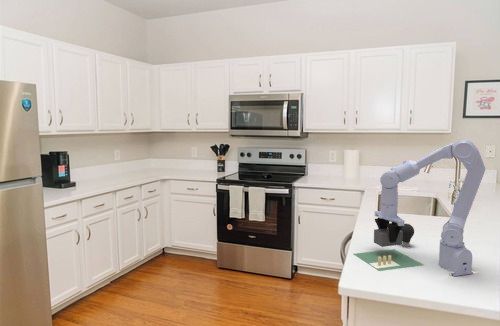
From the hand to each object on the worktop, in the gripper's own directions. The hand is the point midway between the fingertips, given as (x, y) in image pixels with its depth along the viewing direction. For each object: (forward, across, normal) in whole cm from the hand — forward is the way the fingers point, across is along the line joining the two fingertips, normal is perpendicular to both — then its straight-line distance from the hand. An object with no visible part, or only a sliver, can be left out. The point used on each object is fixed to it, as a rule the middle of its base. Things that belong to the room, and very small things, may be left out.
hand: (388, 239), depth 128 cm
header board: (+7, +4, -3) cm, 8 cm away
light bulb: (+7, -6, +13) cm, 16 cm away
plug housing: (+1, 0, 0) cm, 1 cm away
